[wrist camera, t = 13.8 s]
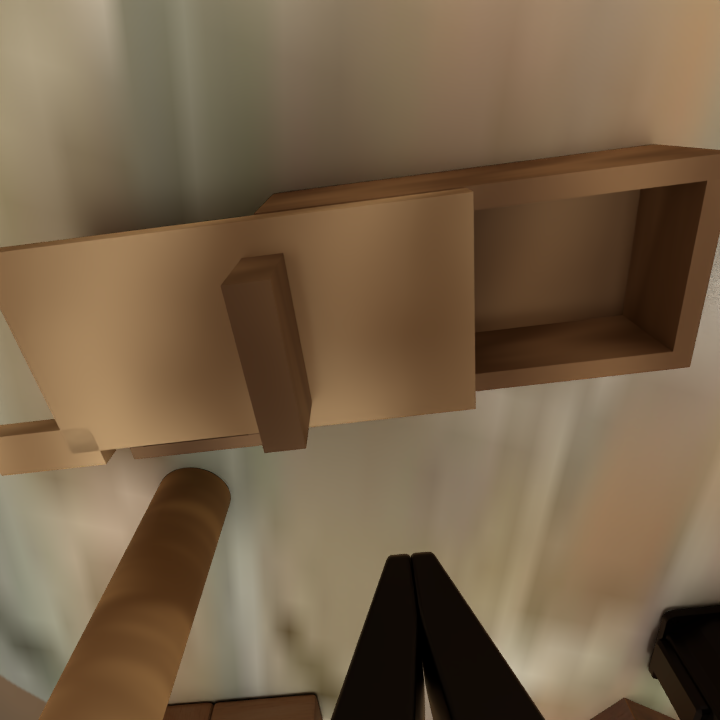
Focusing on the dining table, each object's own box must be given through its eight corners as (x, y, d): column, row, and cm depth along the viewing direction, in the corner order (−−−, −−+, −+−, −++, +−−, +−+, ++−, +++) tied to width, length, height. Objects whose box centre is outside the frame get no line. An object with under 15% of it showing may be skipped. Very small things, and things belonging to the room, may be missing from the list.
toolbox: (653, 144, 17) (737, 151, 14) (618, 379, 22) (674, 434, 18) (69, 220, 18) (-5, 246, 14) (151, 432, 23) (112, 494, 19)
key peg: (220, 464, 24) (75, 854, 11) (237, 517, 25) (127, 910, 13) (149, 471, 24) (-74, 866, 11) (171, 524, 25) (-3, 921, 13)
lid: (466, 187, 14) (499, 207, 11) (470, 410, 17) (495, 471, 14) (-99, 259, 14) (-215, 297, 11) (15, 461, 18) (-51, 529, 15)
